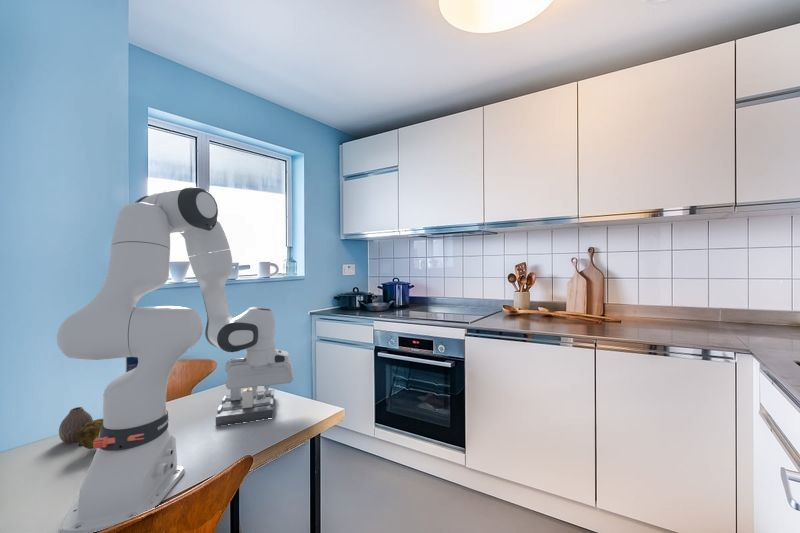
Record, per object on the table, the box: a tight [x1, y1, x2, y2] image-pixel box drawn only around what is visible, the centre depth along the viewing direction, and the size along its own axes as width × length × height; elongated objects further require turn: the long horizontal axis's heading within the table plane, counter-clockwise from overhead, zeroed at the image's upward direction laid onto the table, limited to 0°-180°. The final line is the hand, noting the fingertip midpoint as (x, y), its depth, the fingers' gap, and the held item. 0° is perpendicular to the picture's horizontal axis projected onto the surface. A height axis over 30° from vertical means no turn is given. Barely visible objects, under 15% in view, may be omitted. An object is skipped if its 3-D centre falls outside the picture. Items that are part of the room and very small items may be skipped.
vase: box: [58, 406, 94, 445], centre depth 93 cm, size 7×7×9 cm
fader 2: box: [241, 387, 254, 408], centre depth 109 cm, size 3×3×5 cm
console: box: [215, 389, 275, 427], centre depth 112 cm, size 18×16×4 cm
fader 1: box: [230, 388, 242, 401], centre depth 115 cm, size 3×3×5 cm
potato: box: [76, 418, 103, 450], centre depth 90 cm, size 8×13×8 cm, turn 141°
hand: (260, 399), depth 110 cm, fingers closed
